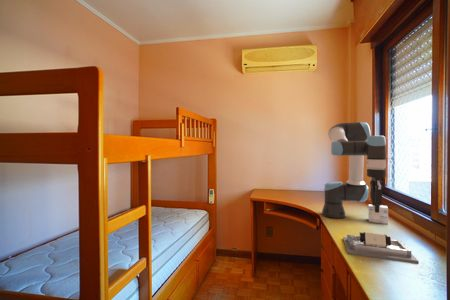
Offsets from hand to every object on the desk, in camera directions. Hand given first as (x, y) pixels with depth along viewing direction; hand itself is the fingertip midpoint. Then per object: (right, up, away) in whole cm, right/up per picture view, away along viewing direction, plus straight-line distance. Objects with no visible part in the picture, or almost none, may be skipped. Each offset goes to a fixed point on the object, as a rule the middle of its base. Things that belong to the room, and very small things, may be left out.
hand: (376, 218), depth 111 cm
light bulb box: (+28, -15, +42) cm, 53 cm away
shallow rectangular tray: (0, -14, 0) cm, 14 cm away
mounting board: (0, -15, 0) cm, 15 cm away
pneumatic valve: (+1, -11, +4) cm, 12 cm away
